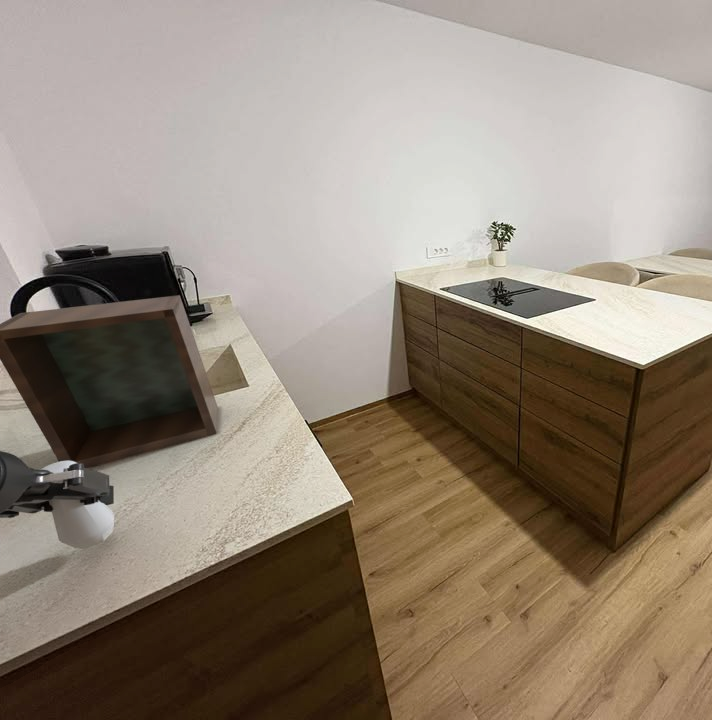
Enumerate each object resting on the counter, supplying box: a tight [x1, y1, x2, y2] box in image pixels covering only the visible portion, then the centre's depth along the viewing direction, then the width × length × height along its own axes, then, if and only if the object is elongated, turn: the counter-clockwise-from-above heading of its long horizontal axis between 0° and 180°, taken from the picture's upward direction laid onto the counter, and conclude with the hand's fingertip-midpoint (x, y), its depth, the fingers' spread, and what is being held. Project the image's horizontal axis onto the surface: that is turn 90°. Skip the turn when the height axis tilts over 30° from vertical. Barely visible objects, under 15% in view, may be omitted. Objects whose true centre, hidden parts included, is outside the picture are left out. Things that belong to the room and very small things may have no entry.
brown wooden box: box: [0, 294, 219, 469], centre depth 76 cm, size 24×13×28 cm, turn 122°
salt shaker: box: [40, 461, 116, 550], centre depth 53 cm, size 6×6×13 cm
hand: (94, 499), depth 57 cm, fingers closed on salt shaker, 3 cm apart
